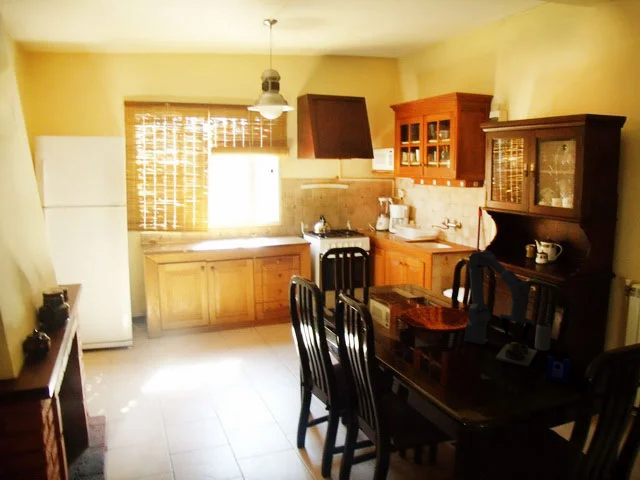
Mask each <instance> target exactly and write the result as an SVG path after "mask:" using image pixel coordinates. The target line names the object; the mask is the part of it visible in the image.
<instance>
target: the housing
mask: <svg viewBox="0 0 640 480" xmlns="http://www.w3.org/2000/svg"><path fill="white" fill-rule="evenodd" d="M520 344H521V351H520V355H513V354H510V345H511V343H505V344H504V346H503V347H502V348H501V350H500V351H499V352H498V354H497V355H496V356H495V360H497V361H501V362H505V363H506V362H507V363H509V364H515V365H518V366H523V367H530V365H531V364H532V362H533V360H534V359H535V358H536V355H537V353H538V350H537V349H534V348H530V347H529V346H528V345H526V344H523V343H520Z"/></svg>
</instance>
